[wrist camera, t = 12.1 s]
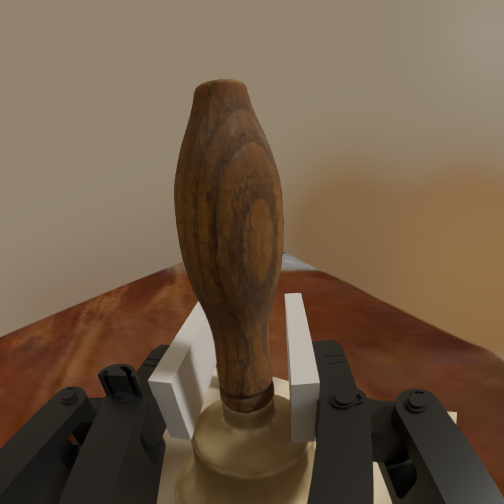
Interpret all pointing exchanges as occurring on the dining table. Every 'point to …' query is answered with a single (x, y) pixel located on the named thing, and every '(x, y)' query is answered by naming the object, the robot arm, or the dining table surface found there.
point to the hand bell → (236, 304)
